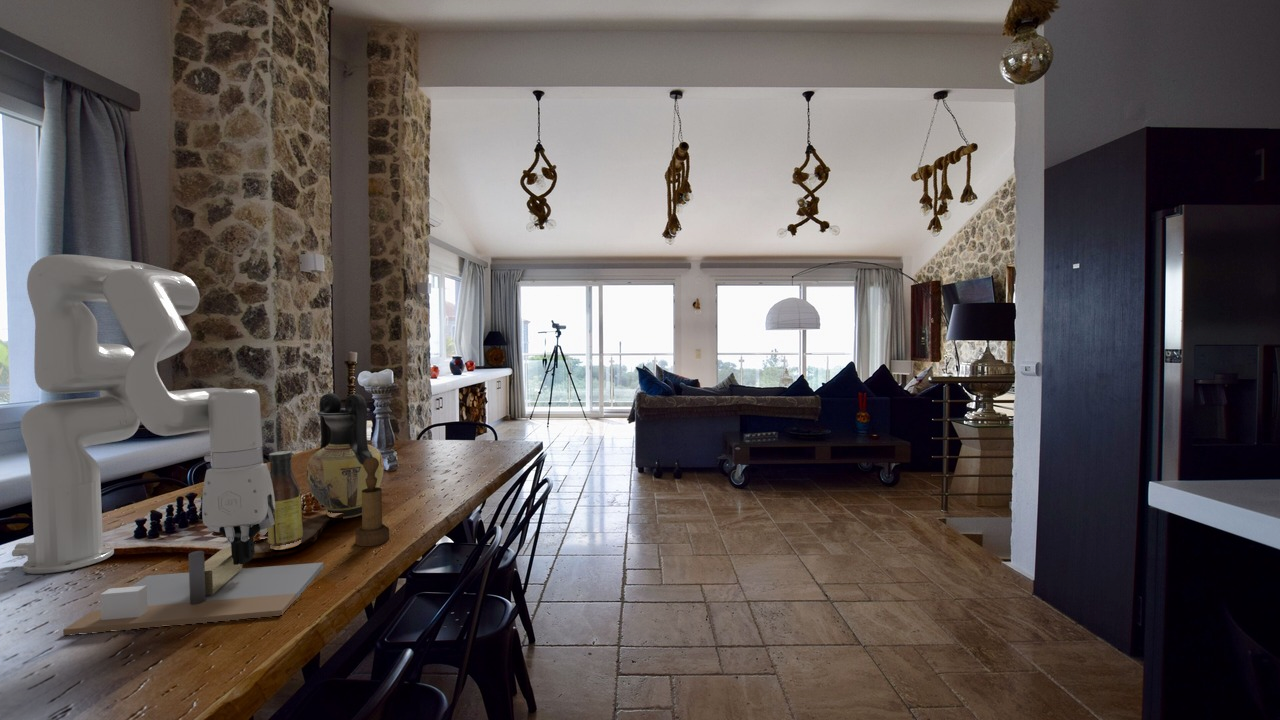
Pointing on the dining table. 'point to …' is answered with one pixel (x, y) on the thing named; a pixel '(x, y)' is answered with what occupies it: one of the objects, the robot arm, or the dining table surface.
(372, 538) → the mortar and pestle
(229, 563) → the bar
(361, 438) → the amphora
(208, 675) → the dining table surface
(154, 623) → the plate
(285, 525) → the sauce bottle
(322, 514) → the dining table surface
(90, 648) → the dining table surface
